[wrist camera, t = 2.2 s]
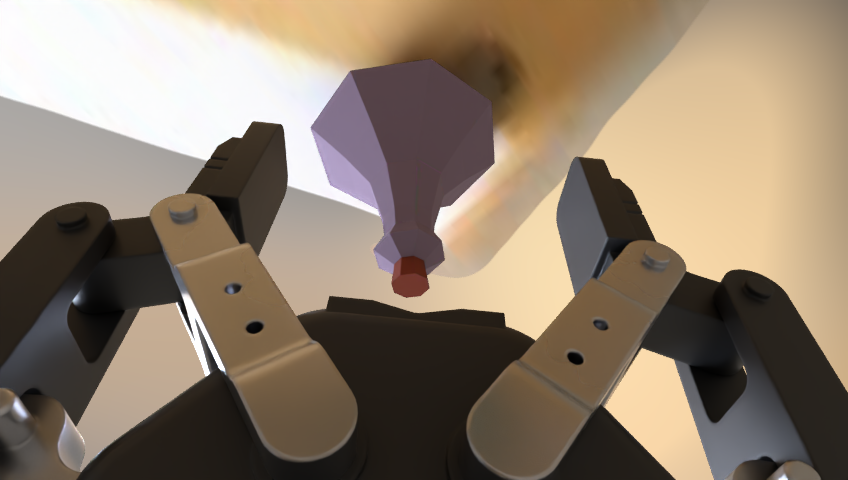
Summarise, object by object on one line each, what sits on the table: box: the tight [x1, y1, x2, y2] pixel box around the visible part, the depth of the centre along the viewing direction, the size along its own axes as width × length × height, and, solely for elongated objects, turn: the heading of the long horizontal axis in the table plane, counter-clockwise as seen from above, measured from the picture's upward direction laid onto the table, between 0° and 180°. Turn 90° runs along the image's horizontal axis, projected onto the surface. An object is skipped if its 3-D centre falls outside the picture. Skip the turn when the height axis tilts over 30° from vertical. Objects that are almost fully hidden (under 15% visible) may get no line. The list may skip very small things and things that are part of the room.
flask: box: [311, 59, 495, 298], centre depth 41 cm, size 16×16×20 cm
